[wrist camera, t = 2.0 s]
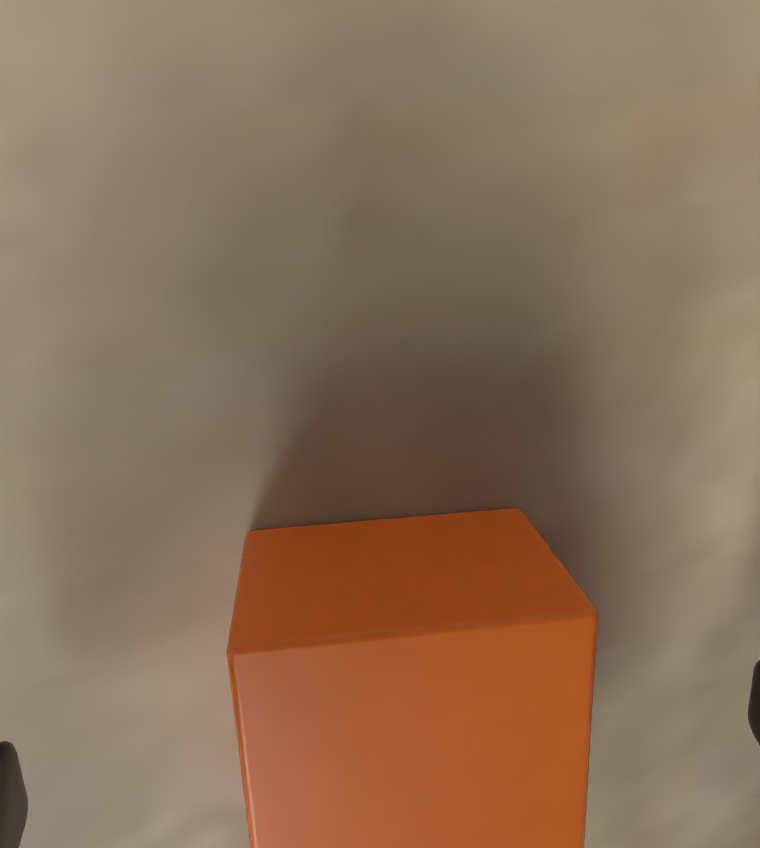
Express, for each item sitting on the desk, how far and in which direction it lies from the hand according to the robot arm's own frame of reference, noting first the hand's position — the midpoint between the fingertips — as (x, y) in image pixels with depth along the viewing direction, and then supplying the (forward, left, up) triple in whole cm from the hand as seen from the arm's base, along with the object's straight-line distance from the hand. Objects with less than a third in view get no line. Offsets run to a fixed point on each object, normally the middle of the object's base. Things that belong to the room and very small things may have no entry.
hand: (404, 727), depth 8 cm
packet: (0, 0, -1) cm, 1 cm away
